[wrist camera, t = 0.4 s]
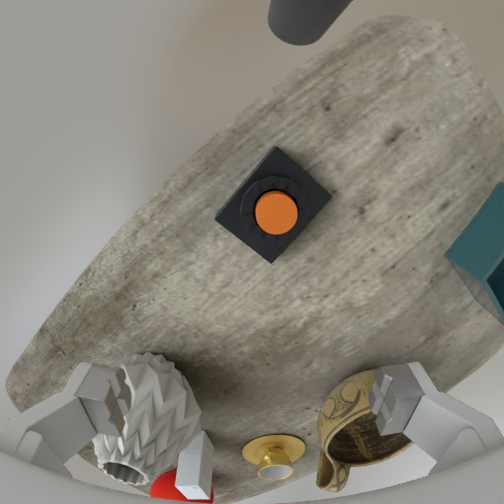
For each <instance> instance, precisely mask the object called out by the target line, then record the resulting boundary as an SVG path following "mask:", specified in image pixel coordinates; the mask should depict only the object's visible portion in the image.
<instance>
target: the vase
mask: <svg viewBox="0 0 504 504" xmlns="http://www.w3.org/2000/svg"><path fill="white" fill-rule="evenodd" d="M110 366H112V367H119V368H122V369H124V371H125V374H126V379H125V381H124V382H125V383H126V384H127V385H128V386H129V387H130V390H131V396H132V400H131V408H130V411H129V413H128V414H126V415H125V416H123V418H124V420H125V425H124V428H123V431H122V434H121V437H114V436H108V435H103V434H97V436H96V437H94V438H93V439H92V441H93V443H94V445H95V454H96V455H97V456H98V467H99V468H101V469H103V470H104V474H107V475H110V476H111V477H112V478H113V479H114V480H121V481H122V482H123V483H125V484H130V483H131V484H133V485H136V486H138V485H139V484H142V485H147V483H148V482H151V480H152V478H153V477H157V476H158V475H159V473H160V472H161V471H162V470H164V469H166V468H168V467H170V466H171V464H172V463H173V462H174V460H175V459H176V457H177V456H178V454H179V453H180V451H182V450H184V449H186V448H187V447H188V446H189V444H190V443H191V442H192V441H193V440H194V439H195V437H196V436H197V435H198V434H199V433H200V431H201V430H202V428H201V424H200V420H199V417H200V414H201V410H200V408H199V406H198V404H197V402H196V400H195V397H194V394H193V391H192V389H191V387H190V385H189V384H188V382H187V380H186V378H185V376H184V375H182V374H181V372H180V371H178V370H177V369H175V363H174V362H171V361H167V360H166V359H165V358H164V356H163V355H153V354H152V353H150V352H146V353H145V354H143V355H141V354H137V353H136V354H135V355H131V356H128V357H125V358H122V359H119V360H117V361H116V362H115V363H113V364H112V365H110Z"/></svg>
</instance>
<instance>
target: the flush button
mask: <svg viewBox="0 0 504 504" xmlns="http://www.w3.org/2000/svg"><path fill="white" fill-rule="evenodd" d="M255 213H256V219H257V222H258V224H259V226H260V227H261V228H262V229H263V230H264V231H266V232H267V233H270V234H283V233H285V232H287V231H289V230H290V229H291V228H292V227H293V226H294V225H295V223H296V221H297V216H298V211H297V207H296V205H295V203H294V202H293V200H292V199H291V198H290V197H289V196H288V195H287V194H285V193H283V192H280V191H271V192H268V193H266V194H264V195H263V196H262V197H261V198H260V199H259V200H258V202H257V204H256V209H255Z"/></svg>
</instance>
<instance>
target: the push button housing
mask: <svg viewBox="0 0 504 504" xmlns="http://www.w3.org/2000/svg"><path fill="white" fill-rule="evenodd" d="M271 191H280V192H283V193H285V194H287V195H288V196H289V197H290V198H291V199H292V200H293V202H294V203H295V205H296V207H297V211H298V216H297V221H296V223H295V225H294V226H293V227H292V228H291V229H290V230H289V231H287V232H285V233H283V234H270V233H267V232H266V231H264V230H263V229H262V228H261V227H260V226H259V224H258V222H257V219H256V213H255V209H256V204H257V202H258V200H259V199H260V198H261V197H262V196H263V195H264V194H266V193H268V192H271ZM331 198H332V195H330V194H329V193H328V192H327V191H326V190H325V189H324V188H323V187H322V186H321V185H320V184H319V183H317V182H316V181H315V180H314V179H313V178H312V177H311V176H310V175H309V174H307V173H306V172H305V171H304V170H303V169H302V168H301V167H300V166H298V165H297V164H296V163H295V162H294V161H293V160H292V159H290V158H289V157H288V156H287V155H286V154H285V153H283V152H282V151H281V150H280V149H279V148H278V147H276V146H274V147H273V148H272V149H271V150H270V151H269V153H268V154H267V155H266V156H265V157H264V158H263V159H262V161H261V162H260V163H259V164H258V165H257V166H256V168H255V169H254V170H253V171H252V172H251V173H250V175H249V176H248V177H247V178H246V179H245V180H244V182H243V183H242V184H241V185H240V186H239V188H238V189H237V190H236V191H235V192H234V194H233V195H232V196H231V197H230V198H229V200H228V201H227V202H226V203H225V204H224V206H223V207H222V208H221V209H220V210H219V212H218V213H217V214H216V217H215V220H216V221H217V222H218V223H220V224H221V225H222V226H223V227H225V228H226V229H227V230H229V231H230V232H231V233H232V234H234V235H235V236H236V237H238V238H239V239H240V240H241V241H243V242H244V243H245V244H247V245H248V246H249V247H250V248H252V249H253V250H254V251H256V252H257V253H258V254H259V255H261V256H262V257H263V258H264V259H266V260H267V261H268V262H270V263H271V264H272V263H273V262H274V261H275V259H276V258H277V257H278V256H279V255H280V254H281V253H282V252H283V251H284V250H285V249H286V247H287V246H288V245H289V244H290V243H291V242H292V241H293V240H294V239H295V238H296V237H297V236H298V235H299V234H300V233H301V232H302V231H303V229H304V228H305V227H306V226H307V224H308V223H309V222H310V221H311V220H312V219H313V218H314V217H315V216H316V214H317V213H318V212H319V211H320V210H321V209H322V208H323V207H324V206H325V204H326V203H327V202H328V201H329V200H330V199H331Z"/></svg>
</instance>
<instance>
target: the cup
mask: <svg viewBox="0 0 504 504" xmlns="http://www.w3.org/2000/svg"><path fill="white" fill-rule="evenodd" d="M305 449H306V447H305V444H304V443H303V442H302V441H301V440H300V439H298V438H295V437H292V436H287V435H270V436H264V437H261V438H257V439H255V440H253V441H251V442H249V443H248V444H247V445H246V446H245V447H244V448H243V451H242V454H243V457H244V458H245V459H246V460H247V461H249V462H250V463H253V464H255V465H259V468H258V475H259V476H260V477H261V478H263V479H266V480H280V479H284V478H287V477H289V476H291V475H292V474H293V473H294V468H293V465H292V462H293V461H295V460H297V459H299V458H300V457H301V456H302V455H303V454H304V452H305Z"/></svg>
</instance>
